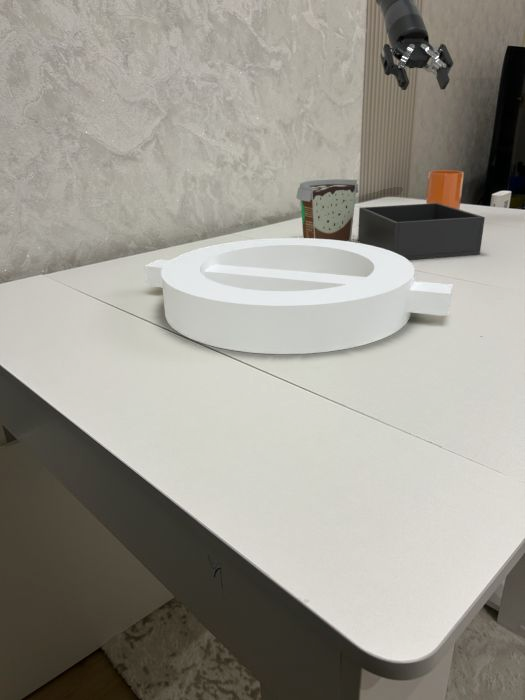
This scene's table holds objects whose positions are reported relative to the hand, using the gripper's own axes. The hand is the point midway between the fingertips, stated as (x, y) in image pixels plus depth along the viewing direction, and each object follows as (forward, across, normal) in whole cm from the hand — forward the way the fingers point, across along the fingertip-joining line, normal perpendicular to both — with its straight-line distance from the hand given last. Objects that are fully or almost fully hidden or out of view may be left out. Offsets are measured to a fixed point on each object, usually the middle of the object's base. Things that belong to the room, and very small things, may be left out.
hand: (425, 86), depth 111 cm
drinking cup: (+26, 0, +9) cm, 27 cm away
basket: (+40, -16, -6) cm, 44 cm away
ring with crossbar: (+56, -43, -21) cm, 74 cm away
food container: (+36, -30, -1) cm, 47 cm away
